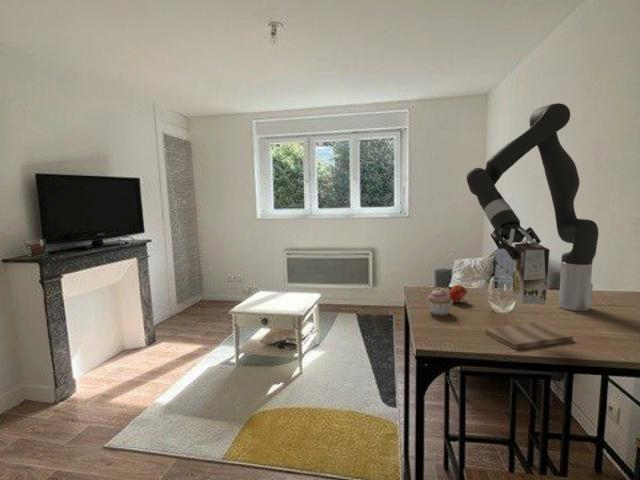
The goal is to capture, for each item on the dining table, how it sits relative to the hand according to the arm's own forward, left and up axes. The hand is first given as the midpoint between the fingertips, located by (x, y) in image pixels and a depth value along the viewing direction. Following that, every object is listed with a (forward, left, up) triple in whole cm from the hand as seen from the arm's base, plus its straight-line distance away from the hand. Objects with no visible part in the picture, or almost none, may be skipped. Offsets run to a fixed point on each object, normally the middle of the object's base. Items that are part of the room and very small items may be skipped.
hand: (528, 257), depth 104 cm
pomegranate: (-1, -35, -25) cm, 42 cm away
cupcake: (+13, -26, -25) cm, 38 cm away
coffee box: (0, +1, -12) cm, 13 cm away
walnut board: (0, +1, -24) cm, 24 cm away
